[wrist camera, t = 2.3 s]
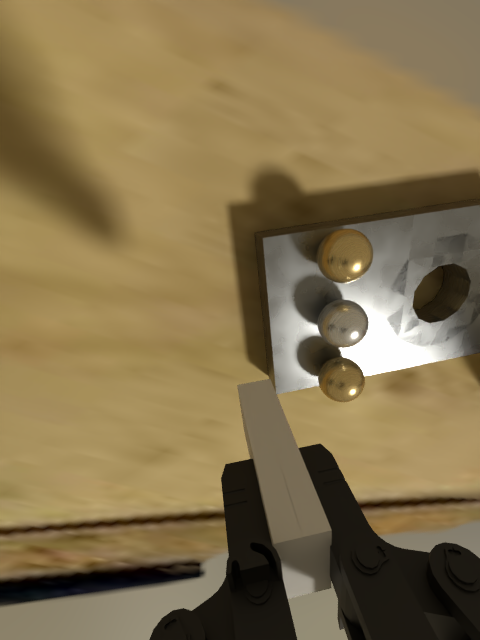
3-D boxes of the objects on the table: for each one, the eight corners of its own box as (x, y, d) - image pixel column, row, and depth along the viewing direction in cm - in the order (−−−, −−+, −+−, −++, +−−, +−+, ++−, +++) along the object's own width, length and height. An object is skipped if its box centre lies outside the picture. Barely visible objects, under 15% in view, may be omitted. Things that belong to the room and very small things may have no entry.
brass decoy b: (309, 279, 20) (330, 294, 17) (308, 229, 19) (330, 237, 16) (354, 271, 20) (382, 285, 17) (356, 222, 19) (387, 228, 16)
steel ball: (310, 338, 22) (329, 361, 19) (309, 297, 20) (329, 315, 18) (352, 330, 22) (377, 351, 19) (354, 289, 21) (380, 306, 18)
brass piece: (311, 388, 24) (329, 415, 21) (311, 353, 22) (329, 378, 20) (350, 380, 24) (372, 406, 21) (351, 345, 23) (375, 368, 20)
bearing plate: (268, 376, 26) (276, 394, 23) (254, 232, 21) (262, 238, 18) (460, 338, 27) (484, 351, 25) (490, 197, 22) (524, 198, 20)
